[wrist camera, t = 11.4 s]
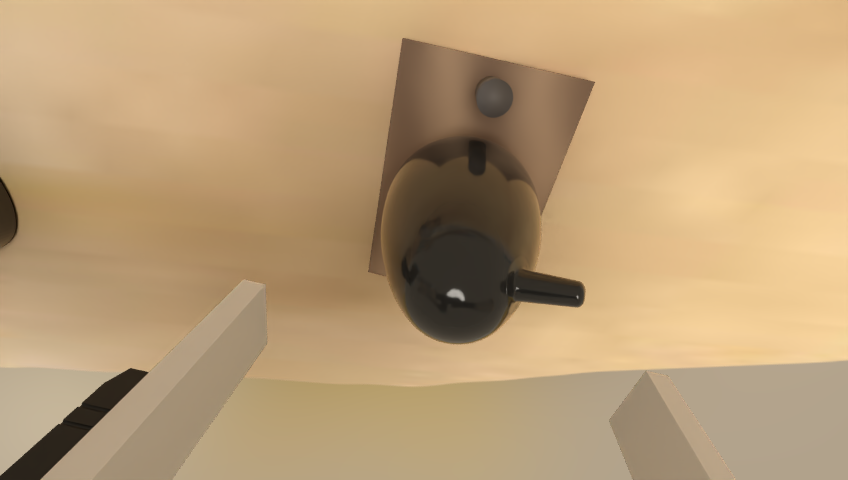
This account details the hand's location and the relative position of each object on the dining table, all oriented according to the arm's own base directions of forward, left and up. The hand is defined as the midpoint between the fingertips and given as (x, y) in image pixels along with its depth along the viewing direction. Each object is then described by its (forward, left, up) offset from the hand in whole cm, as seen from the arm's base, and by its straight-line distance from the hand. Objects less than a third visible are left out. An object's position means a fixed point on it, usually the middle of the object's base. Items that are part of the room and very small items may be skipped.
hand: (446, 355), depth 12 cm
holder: (0, 0, -19) cm, 19 cm away
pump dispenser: (0, 0, -17) cm, 17 cm away
